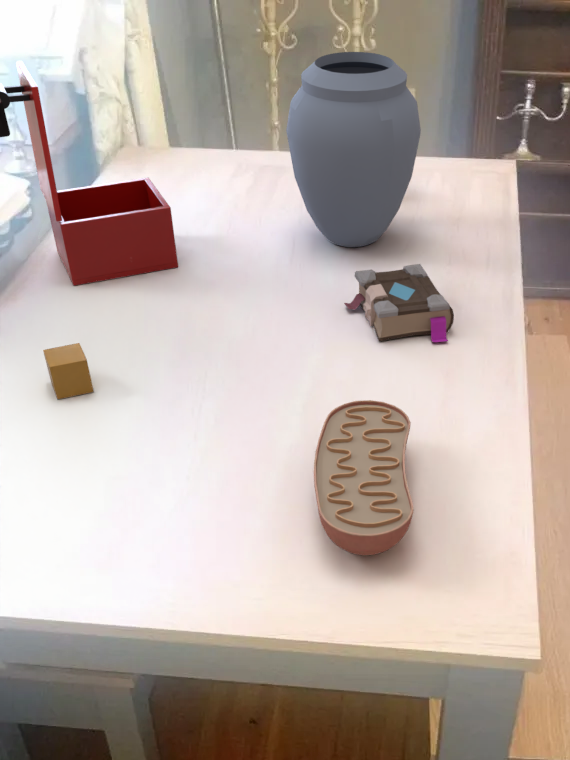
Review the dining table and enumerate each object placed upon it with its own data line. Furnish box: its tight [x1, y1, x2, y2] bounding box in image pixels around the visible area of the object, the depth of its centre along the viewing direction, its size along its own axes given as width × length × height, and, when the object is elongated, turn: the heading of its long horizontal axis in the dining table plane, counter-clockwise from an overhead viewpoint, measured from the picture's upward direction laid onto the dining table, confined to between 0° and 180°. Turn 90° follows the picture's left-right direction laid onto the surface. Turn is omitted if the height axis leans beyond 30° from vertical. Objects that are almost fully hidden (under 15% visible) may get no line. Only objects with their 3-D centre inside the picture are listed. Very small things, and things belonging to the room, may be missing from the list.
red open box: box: [45, 176, 179, 287], centre depth 132 cm, size 16×13×9 cm
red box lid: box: [0, 60, 62, 221], centre depth 120 cm, size 16×13×5 cm
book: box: [343, 263, 455, 343], centre depth 122 cm, size 20×12×5 cm, turn 14°
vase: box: [285, 51, 422, 248], centre depth 132 cm, size 20×20×24 cm
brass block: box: [42, 342, 95, 400], centre depth 108 cm, size 4×4×4 cm
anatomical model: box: [313, 399, 415, 556], centre depth 92 cm, size 23×10×5 cm, turn 178°
